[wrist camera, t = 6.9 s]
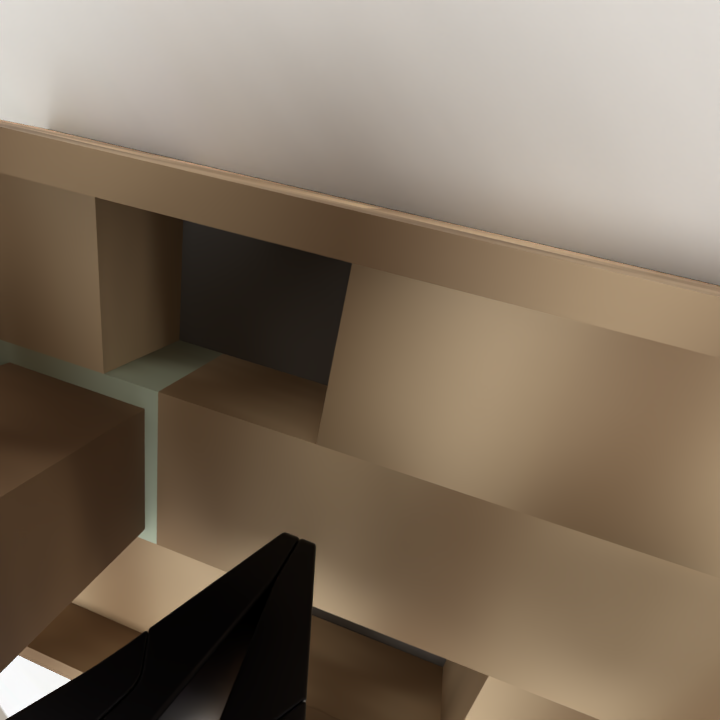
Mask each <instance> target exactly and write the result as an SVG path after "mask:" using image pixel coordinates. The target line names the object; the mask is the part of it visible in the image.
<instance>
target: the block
mask: <svg viewBox="0 0 720 720" xmlns="http://www.w3.org/2000/svg"><path fill="white" fill-rule="evenodd" d="M144 530H145V409H144V408H141V407H138V406H135V405H132V404H129V403H126V402H123V401H121V400H118V399H115V398H112V397H109V396H106V395H103V394H100V393H97V392H94V391H91V390H89V389H86V388H83V387H80V386H77V385H74V384H71V383H68V382H65V381H62V380H59V379H57V378H54V377H51V376H48V375H45V374H42V373H39V372H36V371H33V370H30V369H27V368H25V367H22V366H19V365H16V364H13V363H10V362H9V363H6V364H3V365H0V673H1V672H2V671H3V670H4V669H5V668H6V667H7V666H8V665H9V664H10V663H11V662H12V661H13V660H14V659H15V658H16V657H17V656H18V655H19V654H20V653H21V652H22V651H23V650H24V649H25V648H26V647H27V646H28V645H29V644H30V643H31V642H32V641H33V640H34V639H35V638H36V637H37V636H38V635H39V634H40V633H41V632H42V631H43V630H44V629H45V628H46V627H47V626H48V625H49V624H50V623H51V622H52V621H53V620H54V619H55V618H56V617H57V616H58V615H59V614H60V613H61V612H62V611H63V610H64V609H65V608H66V607H67V606H68V605H69V604H70V603H71V602H72V601H73V600H74V599H75V598H76V597H77V596H78V595H79V594H80V593H81V592H82V591H83V590H84V589H85V588H86V587H87V586H88V585H89V584H90V583H91V582H92V581H93V580H94V579H95V578H96V577H97V576H98V575H99V574H100V573H101V572H102V571H103V570H104V569H105V568H106V567H107V566H108V565H109V564H110V563H112V562H113V561H114V560H115V559H116V558H117V557H118V556H119V555H120V554H121V553H122V552H123V551H124V550H125V549H126V548H127V547H128V546H129V545H130V544H131V543H132V542H133V541H134V540H135V539H136V538H137V537H138V536H139V535H140V534H141V533H142V532H143V531H144Z"/></svg>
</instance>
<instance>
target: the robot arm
mask: <svg viewBox="0 0 720 720" xmlns="http://www.w3.org/2000/svg"><path fill="white" fill-rule="evenodd" d="M315 558H316V544H315V543H313V542H310V541H308V540H305V539H300V540H299V538H298V537H297V536H294V535H292V534H289V533H286V532H284V533H281V534H280V535H278V536H277V537H276V538H274V539H273V540H271V541H270V542H269V543H267V544H266V545H264V546H263V547H262V548H260V549H259V550H257V551H256V552H255V553H253V554H252V555H251V556H249V557H248V558H246V559H245V560H244V561H242V562H241V563H239V564H238V565H237V566H235V567H234V568H232V569H231V570H230V571H228V572H227V573H225V574H224V575H223V576H221V577H220V578H218V579H217V580H216V581H214V582H213V583H211V584H210V585H209V586H207V587H206V588H205V589H203V590H202V591H200V592H199V593H198V594H196V595H195V596H193V597H192V598H191V599H189V600H188V601H186V602H185V603H184V604H182V605H181V606H179V607H178V608H177V609H175V610H174V611H172V612H171V613H170V614H168V615H167V616H165V617H164V618H163V619H161V620H160V621H159V622H157V623H156V624H154V625H153V626H152V627H150V628H149V631H144V632H143V633H141V634H140V635H139V636H137V637H136V638H135V639H133V640H132V641H130V642H129V643H128V644H126V645H125V646H123V647H122V648H120V649H119V650H117V651H116V652H115V653H113V654H112V655H110V656H109V657H107V658H106V659H104V660H103V661H101V662H100V663H98V664H97V665H95V666H94V667H92V668H90V669H89V670H87V671H86V672H84V673H82V674H81V675H79V676H77V677H76V678H74V679H73V680H71V681H69V682H68V683H66V684H65V685H63V686H61V687H59V688H58V689H56V690H54V691H53V692H51V693H49V694H48V695H46V696H44V697H43V698H41V699H39V700H38V701H36V702H34V703H33V704H31V705H29V706H28V707H26V708H24V709H23V710H21V711H19V712H18V713H16V714H14V715H13V716H11V717H9V718H7V719H6V720H306V700H307V686H308V670H309V654H310V638H311V622H312V606H313V590H314V574H315Z"/></svg>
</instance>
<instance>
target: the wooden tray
mask: <svg viewBox="0 0 720 720" xmlns="http://www.w3.org/2000/svg"><path fill="white" fill-rule="evenodd" d="M9 362H10V363H13V364H16V365H19V366H22V367H25V368H27V369H30V370H33V371H36V372H39V373H42V374H45V375H48V376H51V377H54V378H57V379H59V380H62V381H65V382H68V383H71V384H74V385H77V386H80V387H83V388H86V389H89V390H91V391H94V392H97V393H100V394H103V395H106V396H109V397H112V398H115V399H118V400H121V401H123V402H126V403H129V404H132V405H135V406H138V407H141V408H144V409H145V530H144V531H143V532H142V533H141V534H140V535H139V536H138V537H137V538H136V539H135V540H134V541H133V542H132V543H131V544H130V545H129V546H128V547H127V548H126V549H125V550H124V551H123V552H122V553H121V554H120V555H119V556H118V557H117V558H116V559H115V560H114V561H113V562H112V563H110V564H109V565H108V566H107V567H106V568H105V569H104V570H103V571H102V572H101V573H100V574H99V575H98V576H97V577H96V578H95V579H94V580H93V581H92V582H91V583H90V584H89V585H88V586H87V587H86V588H85V589H84V590H83V591H82V592H81V593H80V594H79V595H78V596H77V597H76V598H75V599H74V600H73V601H72V602H71V603H70V604H69V605H68V606H67V607H66V608H65V609H64V610H63V611H62V612H61V613H60V614H59V615H58V616H57V617H56V618H55V619H54V620H53V621H52V622H51V623H50V624H49V625H48V626H47V627H46V628H45V629H44V630H43V631H42V632H41V633H40V634H39V635H38V636H37V637H36V638H35V639H34V640H33V641H32V642H31V643H30V644H29V645H28V646H27V647H26V648H25V649H24V650H23V651H22V652H21V653H20V654H19V656H21V657H23V658H26V659H28V660H30V661H32V662H34V663H36V664H38V665H40V666H43V667H45V668H47V669H49V670H51V671H53V672H55V673H58V674H60V675H62V676H64V677H66V678H68V679H70V680H73V679H74V678H76V677H77V676H79V675H81V674H82V673H84V672H86V671H87V670H89V669H90V668H92V667H94V666H95V665H97V664H98V663H100V662H101V661H103V660H104V659H106V658H107V657H109V656H110V655H112V654H113V653H115V652H116V651H117V650H119V649H120V648H122V647H123V646H125V645H126V644H128V643H129V642H130V641H132V640H133V639H135V638H136V637H137V636H139V635H140V634H141V633H143V632H144V631H149V628H150V627H152V626H153V625H154V624H156V623H157V622H159V621H160V620H161V619H163V618H164V617H165V616H167V615H168V614H170V613H171V612H172V611H174V610H175V609H177V608H178V607H179V606H181V605H182V604H184V603H185V602H186V601H188V600H189V599H191V598H192V597H193V596H195V595H196V594H198V593H199V592H200V591H202V590H203V589H205V588H206V587H207V586H209V585H210V584H211V583H213V582H214V581H216V580H217V579H218V578H220V577H221V576H223V575H224V574H225V573H227V572H228V571H230V570H231V569H232V568H234V567H235V566H237V565H238V564H239V563H241V562H242V561H244V560H245V559H246V558H248V557H249V556H251V555H252V554H253V553H255V552H256V551H257V550H259V549H260V548H262V547H263V546H264V545H266V544H267V543H269V542H270V541H271V540H273V539H274V538H276V537H277V536H278V535H280V534H281V533H284V532H286V533H289V534H292V535H294V536H297V537H298V538H299V540H300V539H305V540H308V541H310V542H313V543H315V544H316V558H315V574H314V590H313V606H312V622H311V638H310V654H309V670H308V686H307V700H306V720H720V286H718V285H714V284H709V283H705V282H701V281H697V280H692V279H688V278H684V277H679V276H675V275H671V274H667V273H662V272H658V271H654V270H649V269H645V268H641V267H636V266H632V265H628V264H624V263H619V262H615V261H611V260H606V259H602V258H598V257H594V256H589V255H585V254H581V253H576V252H572V251H568V250H563V249H559V248H555V247H551V246H546V245H542V244H538V243H533V242H529V241H525V240H521V239H516V238H512V237H508V236H503V235H499V234H495V233H491V232H486V231H482V230H478V229H473V228H469V227H465V226H460V225H456V224H452V223H448V222H443V221H439V220H435V219H430V218H426V217H422V216H418V215H413V214H409V213H405V212H400V211H396V210H392V209H387V208H383V207H379V206H375V205H370V204H366V203H362V202H357V201H353V200H349V199H345V198H340V197H336V196H332V195H327V194H323V193H319V192H314V191H310V190H306V189H302V188H297V187H293V186H289V185H284V184H280V183H276V182H272V181H267V180H263V179H259V178H254V177H250V176H246V175H242V174H237V173H233V172H229V171H224V170H220V169H216V168H211V167H207V166H203V165H199V164H194V163H190V162H186V161H181V160H177V159H173V158H169V157H164V156H160V155H156V154H151V153H147V152H143V151H138V150H134V149H130V148H126V147H121V146H117V145H113V144H108V143H104V142H100V141H96V140H91V139H87V138H83V137H78V136H74V135H70V134H65V133H61V132H57V131H53V130H48V129H44V128H39V127H34V126H29V125H24V124H19V123H14V122H9V121H4V120H0V365H3V364H6V363H9Z"/></svg>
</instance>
